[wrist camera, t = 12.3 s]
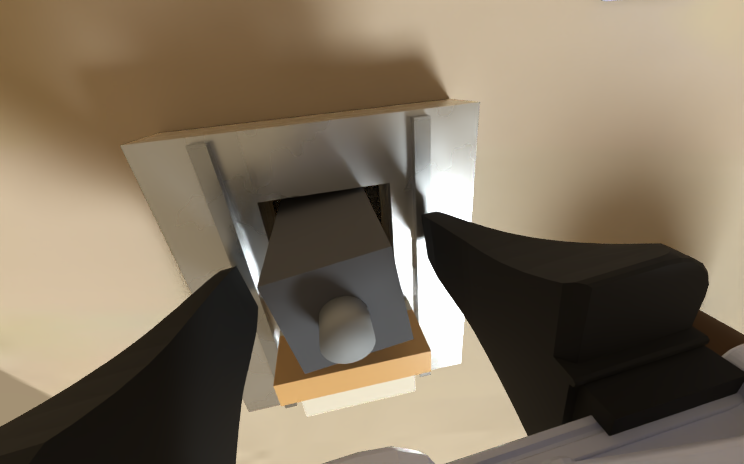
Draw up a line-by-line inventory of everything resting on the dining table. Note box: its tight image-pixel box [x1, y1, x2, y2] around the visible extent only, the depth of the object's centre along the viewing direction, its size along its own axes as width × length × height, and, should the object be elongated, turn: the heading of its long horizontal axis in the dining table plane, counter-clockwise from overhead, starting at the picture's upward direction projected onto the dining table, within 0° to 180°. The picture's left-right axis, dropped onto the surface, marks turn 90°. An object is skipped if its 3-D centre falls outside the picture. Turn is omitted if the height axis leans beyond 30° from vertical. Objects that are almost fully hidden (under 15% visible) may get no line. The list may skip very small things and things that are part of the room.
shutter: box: [273, 299, 431, 417], centre depth 14 cm, size 6×6×3 cm
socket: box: [120, 99, 480, 412], centre depth 14 cm, size 12×14×3 cm
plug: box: [257, 187, 414, 374], centre depth 11 cm, size 4×4×8 cm
